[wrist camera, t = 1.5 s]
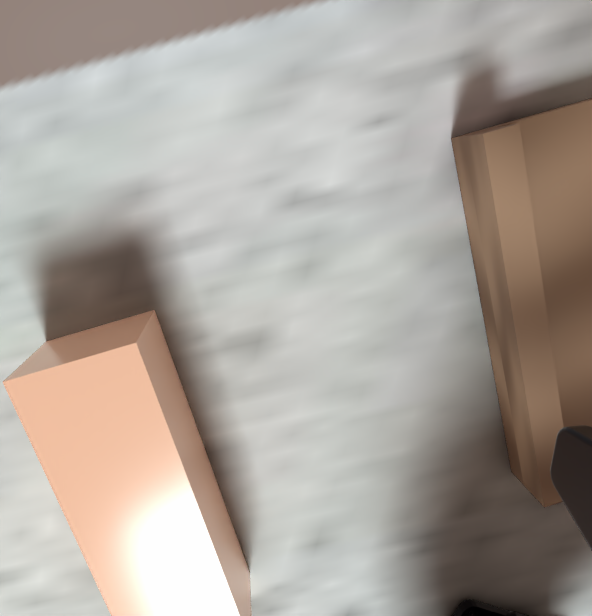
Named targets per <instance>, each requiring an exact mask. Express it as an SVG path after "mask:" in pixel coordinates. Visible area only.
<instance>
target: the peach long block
mask: <svg viewBox="0 0 592 616" xmlns="http://www.w3.org/2000/svg"><path fill="white" fill-rule="evenodd" d="M3 384H4V386H5V388H6V390H7V392H8V394H9V397H10V399H11V401H12V403H13V405H14V407H15V410H16V412H17V414H18V416H19V418H20V420H21V422H22V425H23V427H24V429H25V431H26V433H27V435H28V437H29V440H30V442H31V444H32V446H33V448H34V450H35V453H36V455H37V457H38V459H39V461H40V463H41V465H42V468H43V470H44V472H45V474H46V476H47V478H48V480H49V483H50V485H51V487H52V489H53V491H54V493H55V496H56V498H57V500H58V502H59V504H60V506H61V508H62V511H63V513H64V515H65V517H66V519H67V521H68V523H69V526H70V528H71V530H72V532H73V534H74V536H75V539H76V541H77V543H78V545H79V547H80V549H81V551H82V554H83V556H84V558H85V560H86V562H87V564H88V566H89V569H90V571H91V573H92V575H93V577H94V579H95V582H96V584H97V586H98V588H99V590H100V592H101V594H102V597H103V599H104V601H105V603H106V605H107V607H108V610H109V612H110V614H111V616H251V591H250V572H249V569H248V567H247V564H246V561H245V558H244V555H243V553H242V550H241V547H240V544H239V542H238V539H237V536H236V533H235V531H234V528H233V525H232V522H231V520H230V517H229V514H228V511H227V509H226V506H225V503H224V500H223V498H222V495H221V492H220V489H219V487H218V484H217V481H216V478H215V475H214V473H213V470H212V467H211V464H210V462H209V459H208V456H207V453H206V451H205V448H204V445H203V442H202V440H201V437H200V434H199V431H198V429H197V426H196V423H195V420H194V418H193V415H192V412H191V409H190V406H189V404H188V401H187V398H186V395H185V393H184V390H183V387H182V384H181V382H180V379H179V376H178V373H177V371H176V368H175V365H174V362H173V360H172V357H171V354H170V351H169V349H168V346H167V343H166V340H165V338H164V335H163V332H162V329H161V326H160V324H159V321H158V318H157V315H156V313H155V310H152V311H149V312H145V313H142V314H138V315H135V316H132V317H128V318H125V319H121V320H118V321H114V322H111V323H108V324H104V325H101V326H97V327H94V328H91V329H87V330H84V331H80V332H77V333H74V334H70V335H67V336H63V337H60V338H57V339H53V340H50V341H46V342H45V343H44V344H43V345H42V346H41V347H40V348H39V349H38V350H37V351H35V352H34V353H33V354H32V355H31V356H30V357H29V358H28V359H27V360H26V361H25V362H24V363H23V364H21V365H20V366H19V367H18V368H17V369H16V370H15V371H14V372H13V373H12V374H11V375H10V376H9V377H7V378H6V379H5V380H4V381H3Z"/></svg>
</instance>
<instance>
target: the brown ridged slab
mask: <svg viewBox="0 0 592 616" xmlns="http://www.w3.org/2000/svg"><path fill="white" fill-rule="evenodd" d="M451 140H452V146H453V151H454V157H455V162H456V168H457V173H458V179H459V184H460V190H461V195H462V201H463V206H464V212H465V217H466V223H467V229H468V234H469V240H470V245H471V251H472V256H473V262H474V267H475V273H476V278H477V284H478V289H479V295H480V301H481V306H482V312H483V317H484V323H485V328H486V334H487V339H488V345H489V350H490V356H491V361H492V367H493V372H494V378H495V384H496V389H497V395H498V400H499V406H500V411H501V417H502V422H503V428H504V433H505V439H506V444H507V450H508V456H509V461H510V467H511V472H512V473H513V474H514V475H515V476H516V477H517V478H518V479H519V481H520V482H521V483H522V484H523V485H524V486H525V487H526V488H527V489H528V490H529V491H530V493H531V494H532V495H533V496H534V497H535V498H536V499H537V500H538V501H539V502H540V503H541V505H542V506H543V507H544V508H545V507H548V506H551V505H554V504H557V503H560V502H563V501H562V499H561V497H560V496H559V494H558V492H557V490H556V489H555V487H554V485H553V483H552V480H551V475H550V467H551V462H552V457H553V452H554V447H555V442H556V437H557V434H558V432H559V430H560V429H562V428H563V427H569V426H579V425H587V426H591V427H592V98H591V99H587V100H584V101H580V102H576V103H573V104H569V105H566V106H562V107H559V108H555V109H552V110H548V111H545V112H541V113H538V114H534V115H531V116H527V117H524V118H520V119H517V120H513V121H510V122H506V123H503V124H499V125H496V126H492V127H489V128H485V129H482V130H478V131H475V132H471V133H468V134H464V135H461V136H457V137H454V138H451Z"/></svg>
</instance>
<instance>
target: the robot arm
mask: <svg viewBox="0 0 592 616" xmlns="http://www.w3.org/2000/svg"><path fill="white" fill-rule="evenodd" d="M550 475H551V480H552V483H553V485H554V487H555V489H556V490H557V492H558V494H559V496H560V497H561V499H562V501H563V502H564V504H565V506H566V508H567V509H568V511H569V513H570V514H571V516H572V518H573V520H574V521H575V523H576V525H577V526H578V528H579V530H580V532H581V533H582V535H583V537H584V538H585V540H586V542H587V544H588V545H589V547H590V549H591V550H592V427H591V426H587V425H579V426H569V427H563V428H562V429H560V430H559V432H558V434H557V437H556V442H555V447H554V452H553V457H552V462H551V467H550ZM471 611H472V612H471ZM469 612H470V613H469ZM453 616H527V615H524V614H521V613H518V612H510V611H507V610H504V609H501V608H498V607H495V606H491V605H488V604H485V603H482V602H479V601H476V600H471V599H469V600H465V601H464V602H462V603H461V604H460V605H459V607H458V608H457V610H456V612H455V613H454V615H453Z"/></svg>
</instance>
